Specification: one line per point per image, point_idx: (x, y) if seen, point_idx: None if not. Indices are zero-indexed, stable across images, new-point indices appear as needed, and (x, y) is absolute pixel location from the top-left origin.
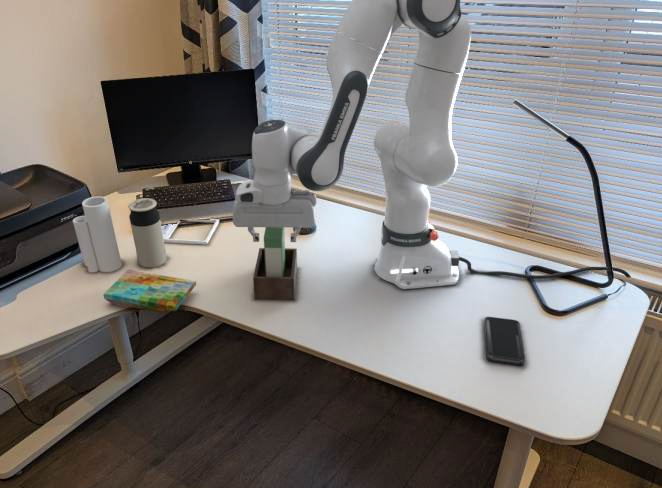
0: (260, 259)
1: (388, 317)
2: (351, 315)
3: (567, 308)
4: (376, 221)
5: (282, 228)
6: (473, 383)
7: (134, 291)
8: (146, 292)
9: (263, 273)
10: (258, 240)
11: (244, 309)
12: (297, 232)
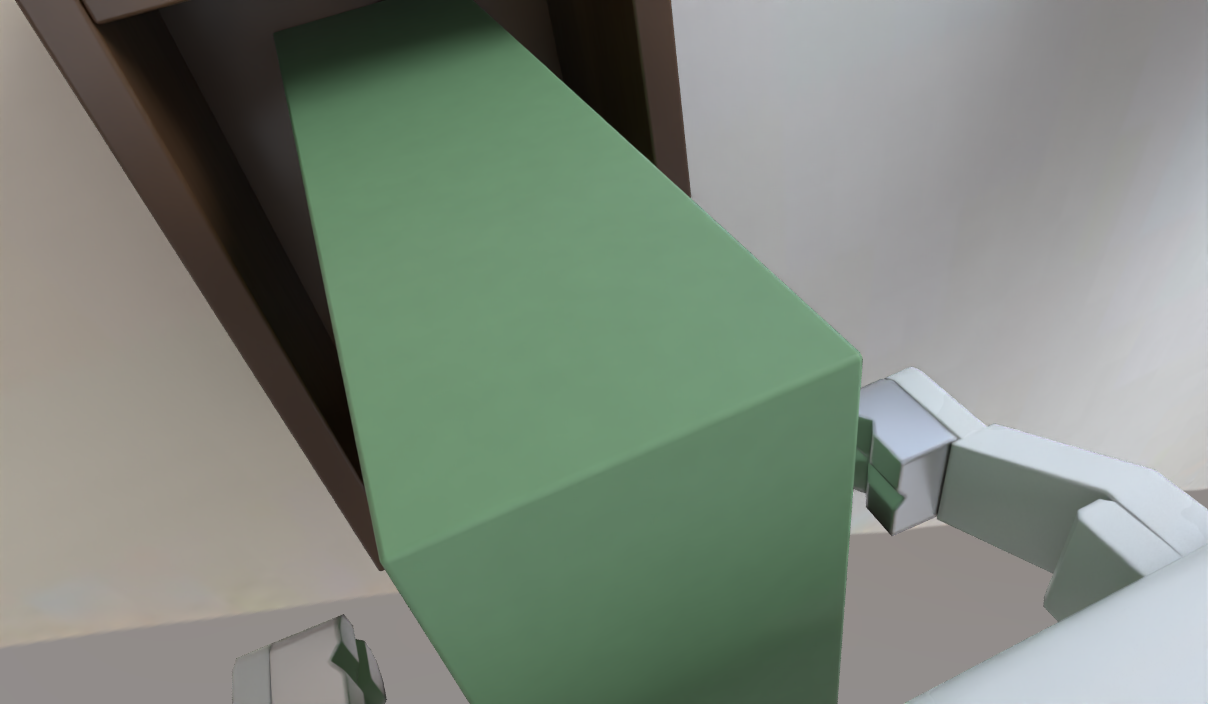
0: (230, 243)
1: (1098, 240)
2: (940, 298)
3: None
4: None
5: (838, 619)
6: (1195, 432)
7: None
8: None
9: (212, 75)
10: (379, 694)
11: (337, 519)
12: (1046, 557)
